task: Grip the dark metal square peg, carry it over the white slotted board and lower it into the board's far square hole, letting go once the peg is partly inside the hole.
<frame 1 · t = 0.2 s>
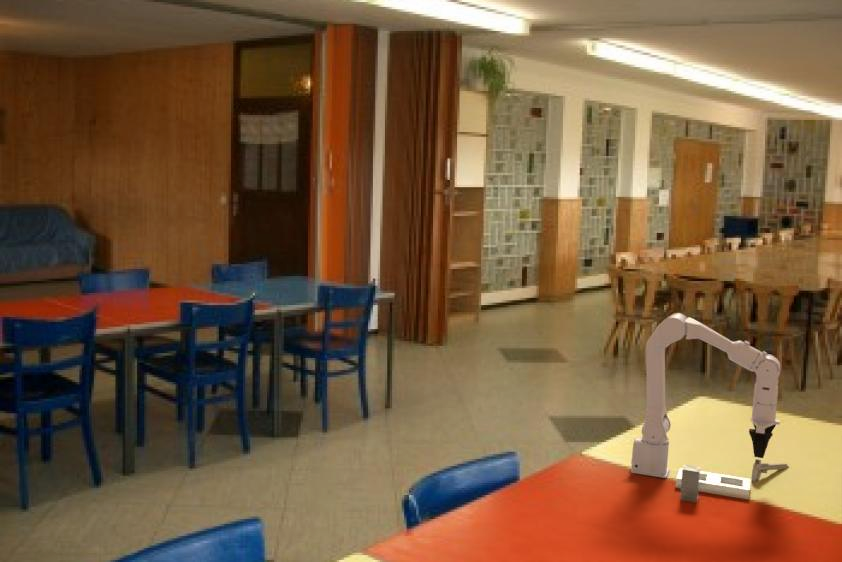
hand: (760, 453, 230), 10 cm above the table, tool pointing down, fingers open, 7 cm apart
white slotted board: (712, 487, 231), on the table
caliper: (770, 475, 244), on the table
peg: (689, 498, 223), on the table
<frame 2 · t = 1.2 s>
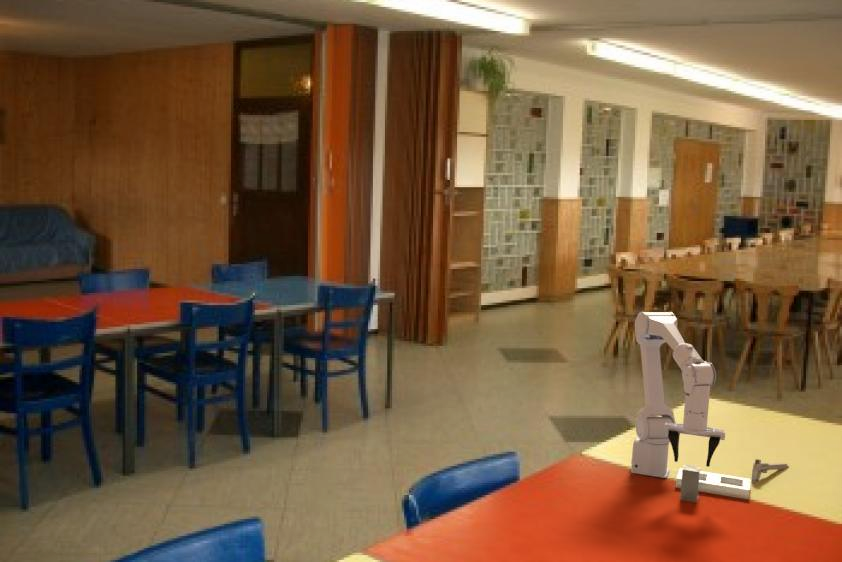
hand: (692, 462, 222), 9 cm above the table, tool pointing down, fingers open, 7 cm apart
nothing on the table moved.
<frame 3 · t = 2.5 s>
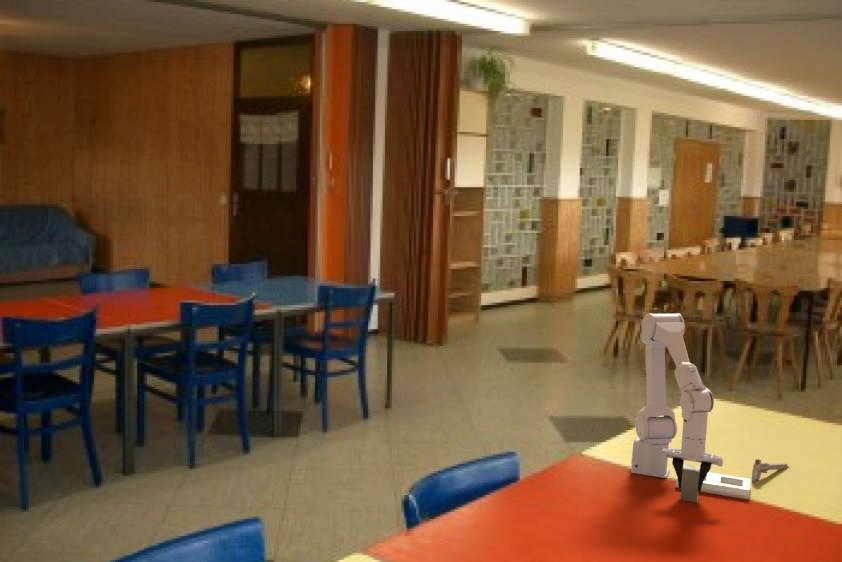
hand: (689, 488, 223), 3 cm above the table, tool pointing down, fingers closed on peg, 4 cm apart
peg: (689, 498, 223), on the table, touching gripper
everything else where it was.
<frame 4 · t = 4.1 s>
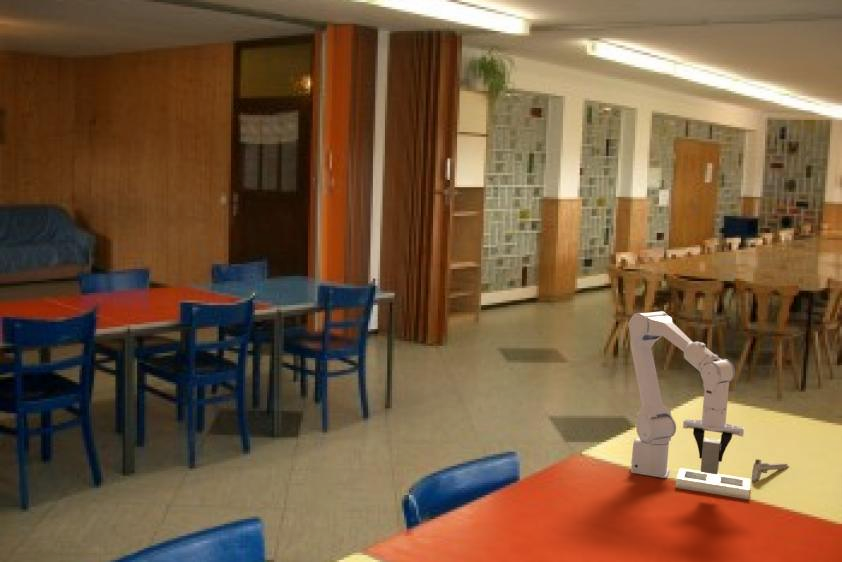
hand: (710, 459, 225), 10 cm above the table, tool pointing down, fingers closed on peg, 4 cm apart
peg: (709, 470, 225), point 7 cm above the table, touching gripper
everything else where it was.
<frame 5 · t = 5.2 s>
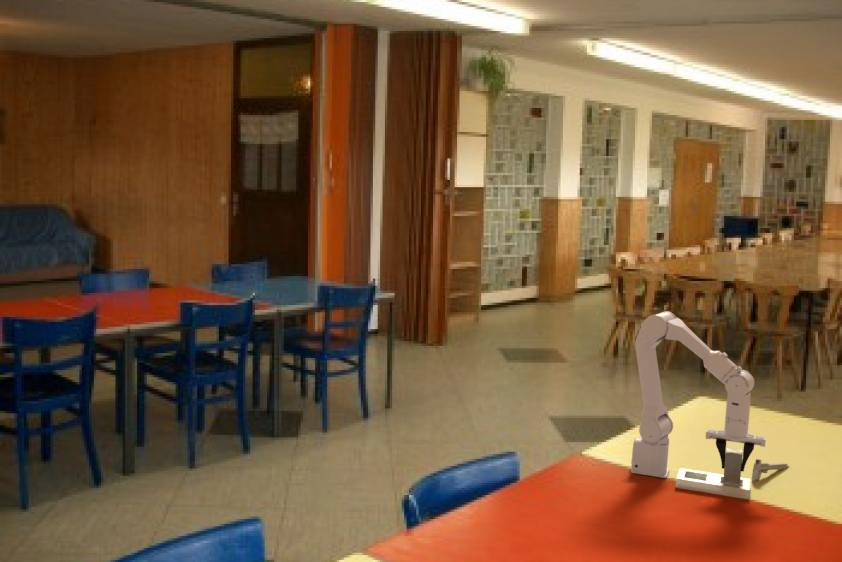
hand: (732, 468, 229), 6 cm above the table, tool pointing down, fingers closed on peg, 4 cm apart
peg: (731, 480, 229), point 3 cm above the table, touching gripper
everything else where it was.
when the fingers open (4 cm above the table, at t = 6.1 s): peg stays where it is, resting in white slotted board.
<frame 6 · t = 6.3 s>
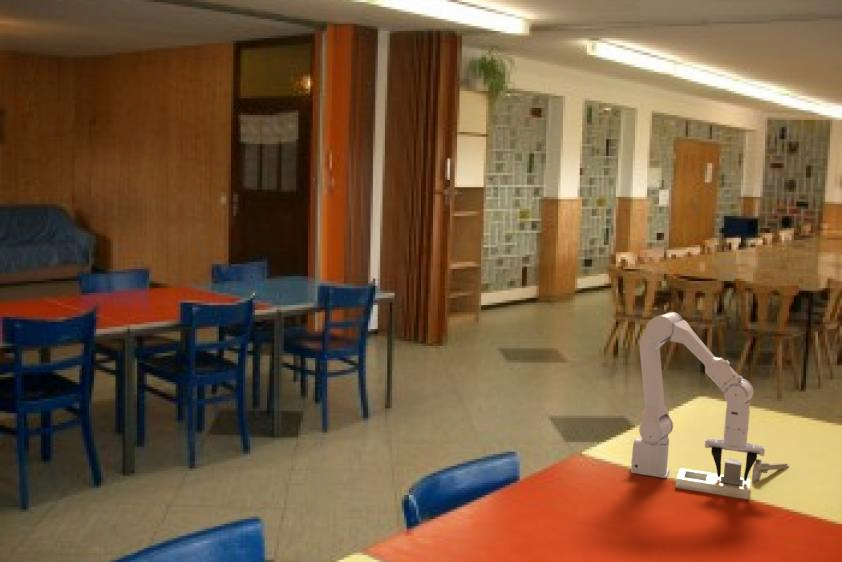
hand: (732, 477, 229), 4 cm above the table, tool pointing down, fingers open, 6 cm apart
peg: (730, 491, 229), resting in white slotted board
everything else where it was.
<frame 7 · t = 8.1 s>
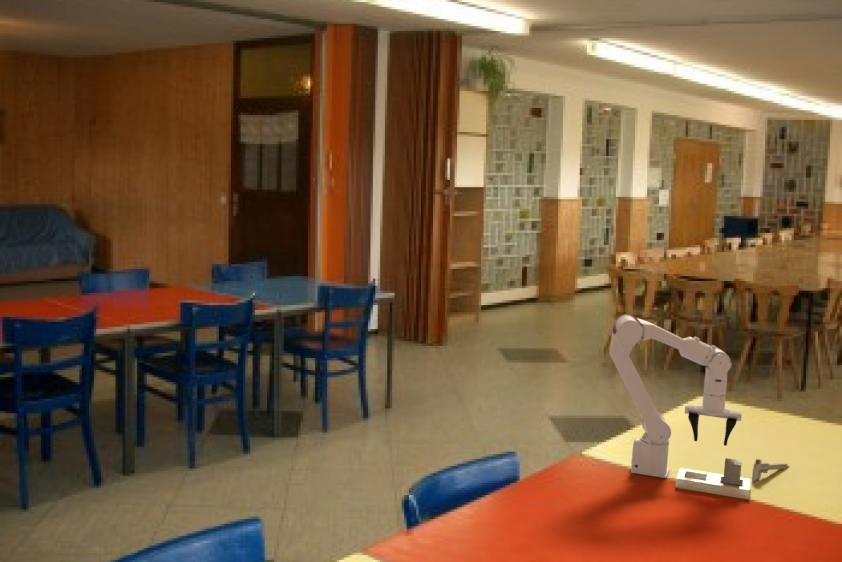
hand: (710, 442, 239), 9 cm above the table, tool pointing down, fingers open, 7 cm apart
nothing on the table moved.
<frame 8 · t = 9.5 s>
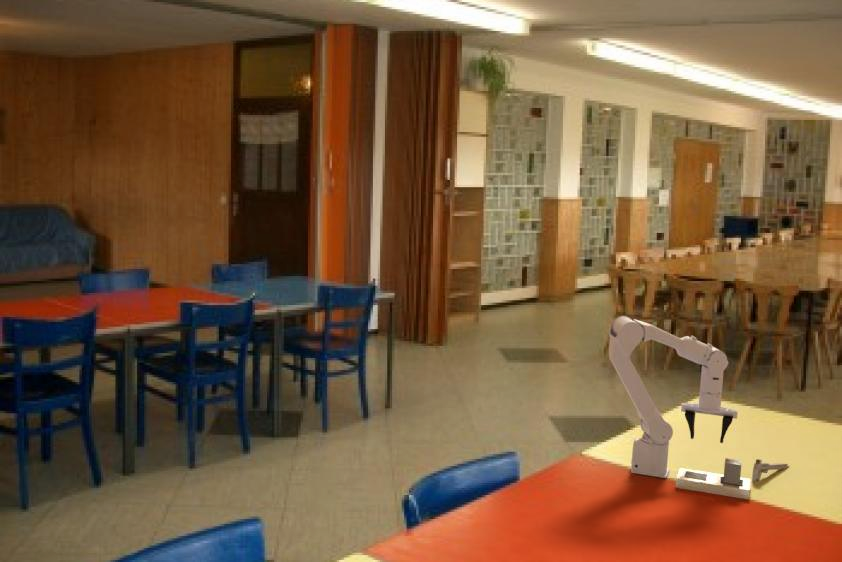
hand: (706, 440, 241), 9 cm above the table, tool pointing down, fingers open, 7 cm apart
nothing on the table moved.
at the end: peg 0.3 cm from the target spot on the white slotted board, point 0.0 cm above the white slotted board's base; peg tilted 0°; the gripper is holding nothing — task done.
